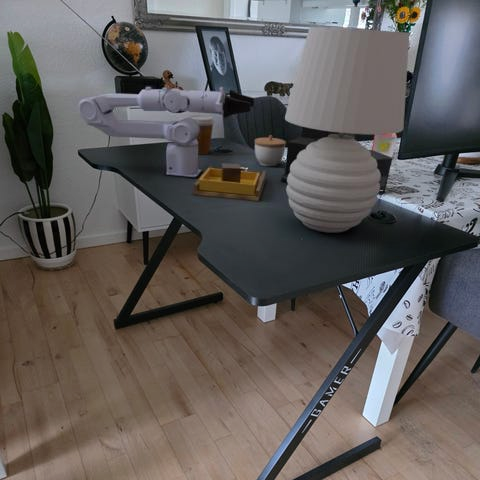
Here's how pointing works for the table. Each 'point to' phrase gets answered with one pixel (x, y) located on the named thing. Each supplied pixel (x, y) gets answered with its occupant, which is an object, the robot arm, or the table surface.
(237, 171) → the block
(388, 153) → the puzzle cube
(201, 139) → the disposable coffee cup
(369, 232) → the table surface
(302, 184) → the table lamp
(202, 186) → the tray
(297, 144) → the bookend
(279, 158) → the trinket box
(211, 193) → the board
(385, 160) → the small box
